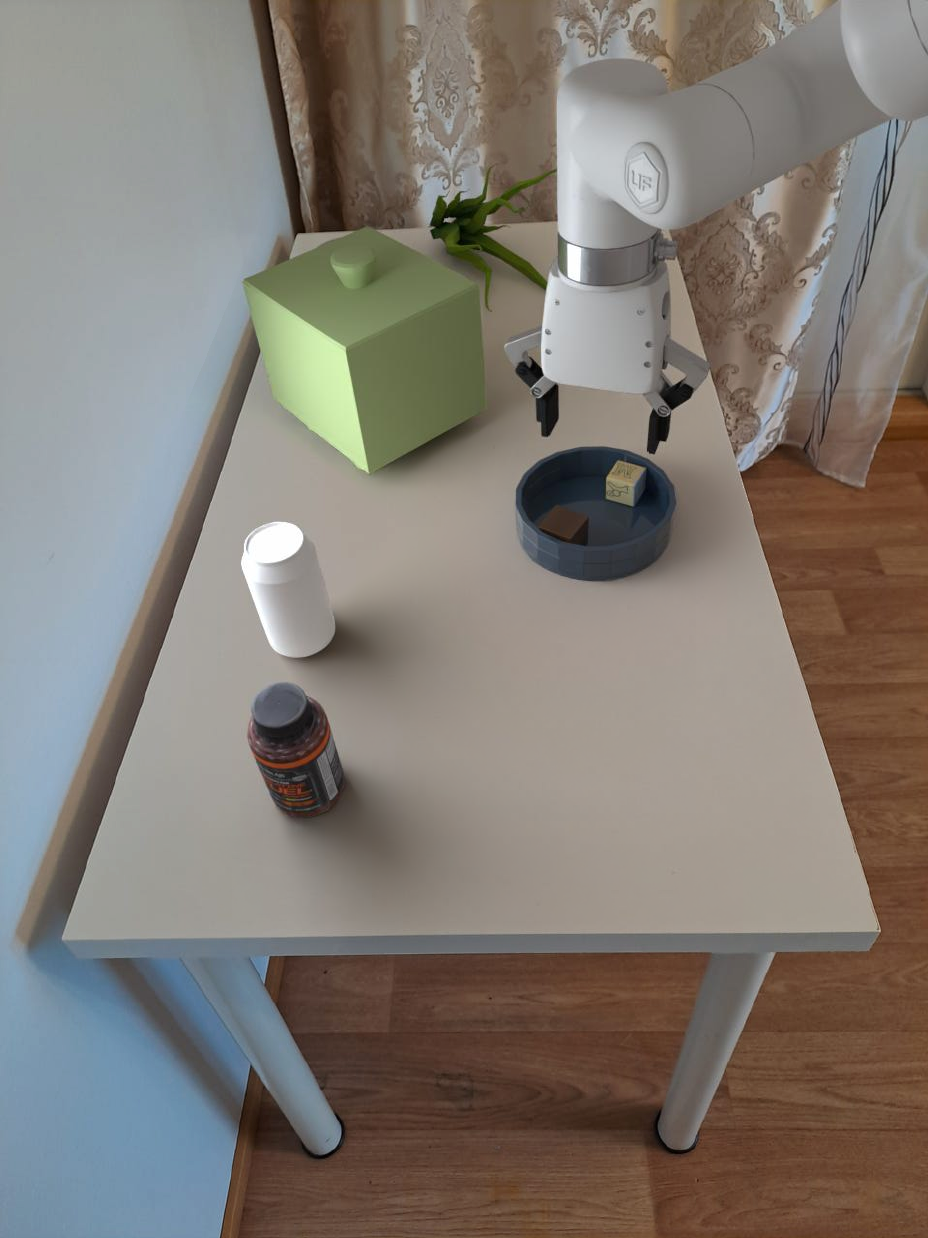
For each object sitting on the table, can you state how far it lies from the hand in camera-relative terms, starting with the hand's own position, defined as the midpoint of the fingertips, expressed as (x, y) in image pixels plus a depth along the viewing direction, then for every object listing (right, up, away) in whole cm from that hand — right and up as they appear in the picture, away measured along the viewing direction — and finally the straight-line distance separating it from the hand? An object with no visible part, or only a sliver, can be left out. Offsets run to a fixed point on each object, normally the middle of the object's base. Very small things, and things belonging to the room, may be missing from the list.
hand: (601, 436), depth 81 cm
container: (-22, +6, +23) cm, 32 cm away
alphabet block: (+4, -4, +11) cm, 12 cm away
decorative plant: (-5, +30, +43) cm, 53 cm away
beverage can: (-27, -18, +2) cm, 33 cm away
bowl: (+1, -7, +9) cm, 11 cm away
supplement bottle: (-25, -30, -9) cm, 40 cm away
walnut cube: (-3, -10, +6) cm, 12 cm away
